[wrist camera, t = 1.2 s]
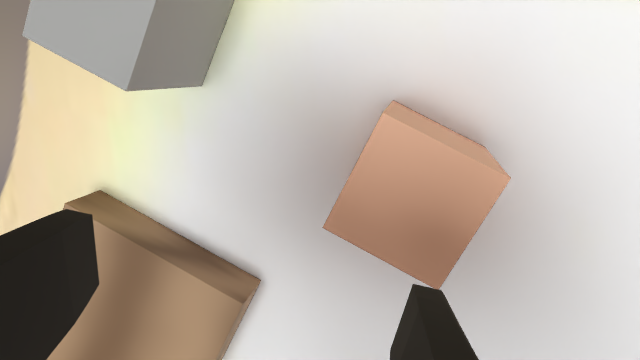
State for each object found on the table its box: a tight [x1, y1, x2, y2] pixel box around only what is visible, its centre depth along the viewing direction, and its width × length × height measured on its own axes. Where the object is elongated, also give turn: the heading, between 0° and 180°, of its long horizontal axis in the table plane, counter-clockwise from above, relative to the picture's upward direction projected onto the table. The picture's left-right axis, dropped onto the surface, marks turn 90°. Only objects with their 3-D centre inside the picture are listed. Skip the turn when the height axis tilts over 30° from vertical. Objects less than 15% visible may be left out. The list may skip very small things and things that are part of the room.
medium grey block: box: [22, 0, 234, 91], centre depth 19 cm, size 4×4×6 cm
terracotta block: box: [323, 101, 511, 290], centre depth 18 cm, size 4×4×6 cm
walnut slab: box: [46, 190, 261, 360], centre depth 25 cm, size 10×10×3 cm
